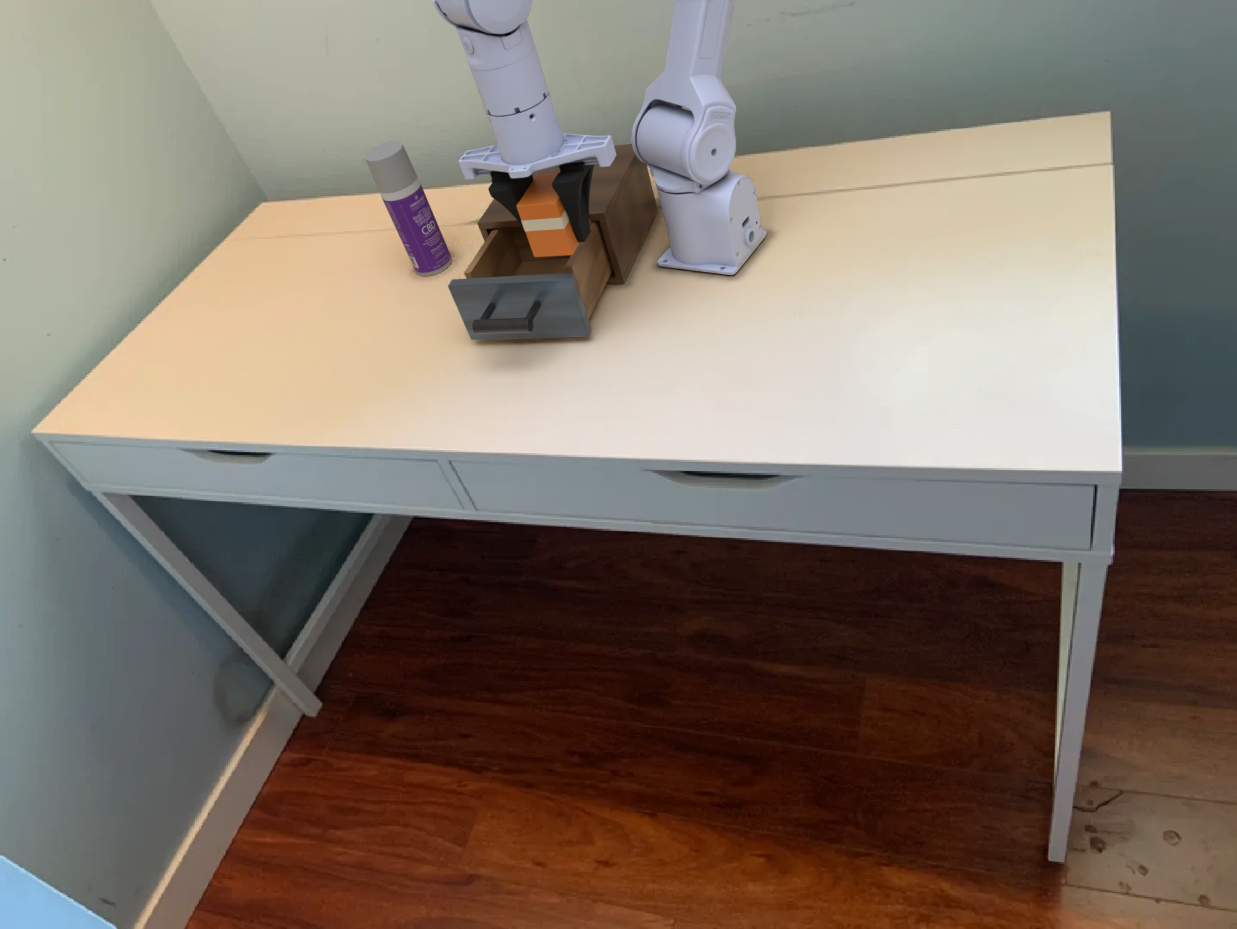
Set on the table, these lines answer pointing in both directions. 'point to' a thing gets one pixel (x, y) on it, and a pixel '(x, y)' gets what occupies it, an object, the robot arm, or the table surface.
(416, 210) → the container
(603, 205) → the cabinet
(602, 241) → the drawer
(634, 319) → the table surface
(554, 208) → the snack box
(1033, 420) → the table surface
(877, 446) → the table surface
